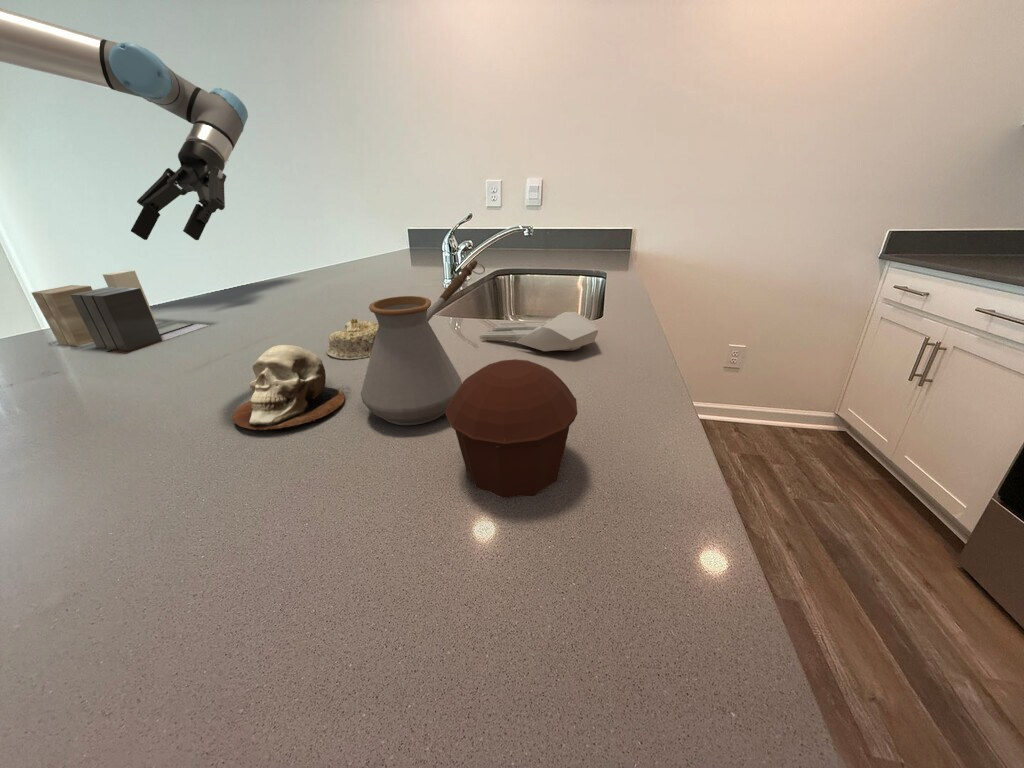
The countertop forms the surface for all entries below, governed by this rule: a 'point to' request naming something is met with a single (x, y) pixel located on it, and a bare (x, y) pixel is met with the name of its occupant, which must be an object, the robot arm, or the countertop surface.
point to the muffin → (512, 426)
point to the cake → (353, 340)
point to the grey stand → (122, 319)
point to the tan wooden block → (64, 314)
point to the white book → (125, 282)
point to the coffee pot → (410, 360)
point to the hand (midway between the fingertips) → (164, 235)
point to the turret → (548, 333)
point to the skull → (287, 390)
